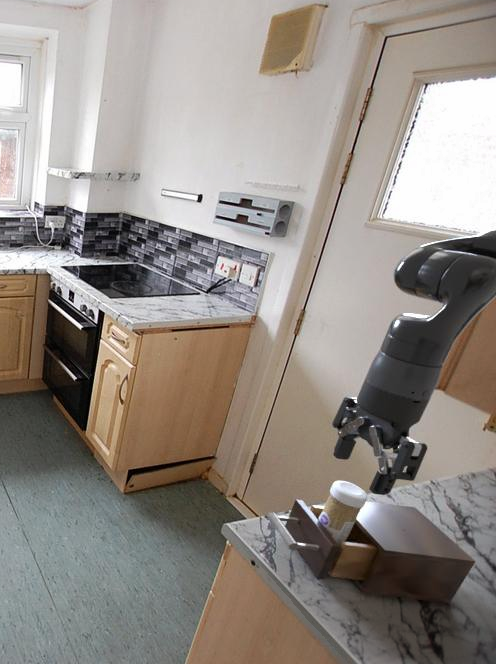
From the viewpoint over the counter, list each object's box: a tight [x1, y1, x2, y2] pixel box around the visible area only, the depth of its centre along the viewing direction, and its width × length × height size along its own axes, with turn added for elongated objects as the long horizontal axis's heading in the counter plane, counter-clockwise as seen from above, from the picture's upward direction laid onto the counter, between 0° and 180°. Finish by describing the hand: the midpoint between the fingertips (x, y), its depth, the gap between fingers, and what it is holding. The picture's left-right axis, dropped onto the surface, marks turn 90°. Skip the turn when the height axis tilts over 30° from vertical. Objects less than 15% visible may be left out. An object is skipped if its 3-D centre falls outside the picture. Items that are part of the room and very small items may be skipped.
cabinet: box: [352, 500, 477, 605], centre depth 77 cm, size 14×12×9 cm
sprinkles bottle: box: [318, 480, 368, 546], centre depth 77 cm, size 5×5×13 cm
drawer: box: [267, 499, 379, 581], centre depth 78 cm, size 18×10×7 cm, turn 86°
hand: (357, 474), depth 73 cm, fingers open, 8 cm apart
